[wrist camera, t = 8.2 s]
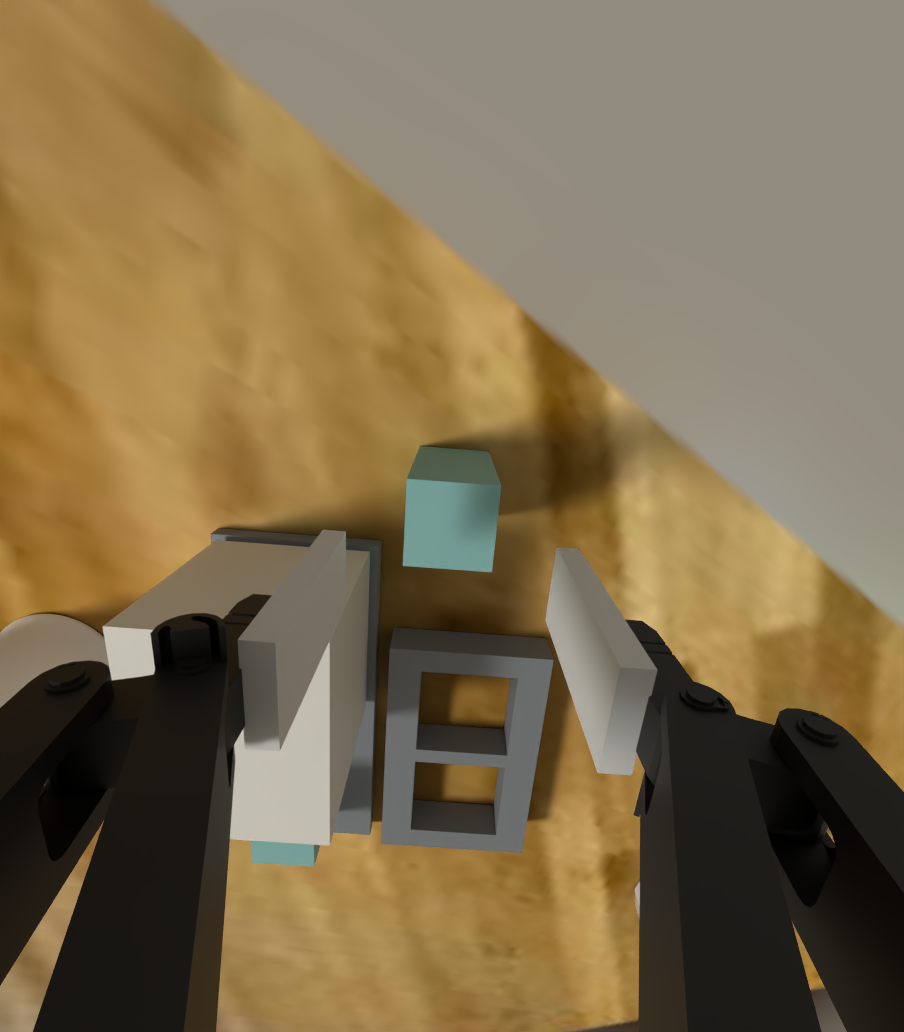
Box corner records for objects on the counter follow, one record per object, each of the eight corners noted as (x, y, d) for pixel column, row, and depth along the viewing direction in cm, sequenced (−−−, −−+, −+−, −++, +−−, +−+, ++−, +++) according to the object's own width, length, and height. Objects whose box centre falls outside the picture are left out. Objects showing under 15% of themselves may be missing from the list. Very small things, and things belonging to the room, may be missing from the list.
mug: (191, 690, 33) (54, 862, 22) (129, 764, 35) (-26, 957, 24) (32, 588, 31) (-214, 721, 20) (-24, 673, 33) (-276, 839, 22)
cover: (216, 540, 28) (102, 626, 19) (370, 551, 29) (329, 642, 19) (228, 696, 32) (136, 833, 23) (365, 706, 32) (329, 845, 23)
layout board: (218, 528, 30) (173, 560, 25) (382, 540, 30) (368, 575, 25) (240, 813, 37) (208, 881, 32) (372, 822, 37) (359, 891, 32)
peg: (420, 446, 28) (406, 478, 20) (489, 451, 28) (501, 485, 20) (416, 511, 29) (402, 565, 22) (482, 516, 29) (491, 572, 22)
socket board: (394, 627, 32) (389, 648, 29) (546, 638, 32) (553, 660, 30) (385, 813, 37) (381, 843, 34) (517, 822, 37) (521, 852, 34)
